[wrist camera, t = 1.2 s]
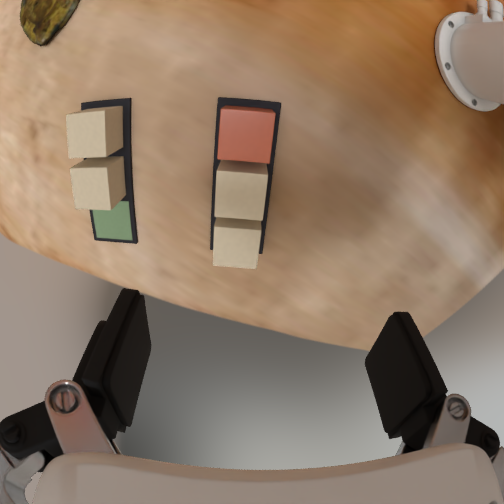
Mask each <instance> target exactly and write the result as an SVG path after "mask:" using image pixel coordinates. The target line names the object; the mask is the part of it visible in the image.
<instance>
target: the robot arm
mask: <svg viewBox="0 0 504 504" xmlns="http://www.w3.org/2000/svg"><path fill="white" fill-rule="evenodd" d="M477 8H478V13H476V14H475V15H474V14H472V13H468V12H456V13H451V14H449V15H447V16H446V17H445V18H444V19H443V20H442V21H441V22H440V24H439V26H438V28H437V32H436V35H435V54H436V59H437V63H438V66H439V69H440V72H441V75H442V77H443V79H444V81H445V83H446V85H447V86H448V88H449V89H450V91H451V92H452V93H453V94H454V96H455V97H456V98H457V99H458V100H459V101H461V102H462V103H463V104H464V105H466V106H468V107H470V108H472V109H475V110H478V111H484V112H485V111H491V110H494V109H496V108H497V107H498V106H500V105H501V104H503V105H504V21H503V17H504V14H503V5H502V4H501V3H500V2H498V1H496V0H489V13H490V18H489V17H488V16H487V11H488V8H487V1H486V0H477ZM150 351H151V340H150V334H149V328H148V321H147V314H146V307H145V300H144V295H140V293H139V291H138V290H133V289H126V288H123V289H122V291H121V293H120V295H119V297H118V299H117V301H116V303H115V305H114V307H113V309H112V311H111V313H110V315H109V317H108V319H107V321H100V322H99V323H98V325H97V327H96V329H95V331H94V333H93V335H92V337H91V339H90V341H89V343H88V346H87V348H86V350H85V352H84V354H83V357H82V359H81V361H80V363H79V366H78V368H77V370H76V373H75V375H74V377H73V380H72V381H71V380H60V381H57V382H55V383H53V384H52V385H51V386H50V387H49V388H48V390H47V392H46V394H45V401H43V402H41V403H38V404H36V405H34V406H32V407H29V408H27V409H25V410H22V411H20V412H18V413H15V414H13V415H10V416H8V417H6V418H5V419H3V420H2V421H1V422H0V504H28V502H27V500H26V498H25V494H24V493H25V488H26V486H27V484H28V483H29V482H30V481H31V480H32V479H31V477H32V476H33V475H34V474H35V473H36V472H43V473H42V475H41V477H40V480H39V482H38V485H37V488H36V492H35V494H34V498H33V502H32V504H504V448H503V447H502V446H501V447H500V448H499V446H500V441H499V437H498V435H497V433H496V432H495V431H494V430H492V429H491V428H489V427H488V426H486V425H485V424H483V423H481V422H480V421H478V420H476V419H475V418H473V417H471V408H470V405H469V403H468V401H467V400H466V399H465V398H464V397H463V396H461V395H459V394H450V395H449V396H446V393H447V391H448V390H447V388H446V386H445V383H444V381H443V379H442V377H441V375H440V373H439V371H438V368H437V366H436V364H435V362H434V360H433V358H432V356H431V354H430V352H429V350H428V348H427V346H426V344H425V342H424V340H423V338H422V336H421V334H420V332H419V330H418V328H417V326H416V324H415V323H414V321H413V319H412V317H411V315H410V314H409V313H408V312H394V313H393V315H391V316H390V317H389V318H388V320H387V322H386V324H385V326H384V327H383V329H382V331H381V333H380V335H379V336H378V338H377V340H376V342H375V343H374V345H373V347H372V348H371V350H370V352H369V354H368V355H367V357H366V359H365V367H366V370H367V373H368V376H369V379H370V383H371V386H372V389H373V392H374V396H375V399H376V402H377V406H378V410H379V413H380V417H381V420H382V424H383V428H384V430H385V432H386V433H388V436H389V439H392V438H397V437H400V436H402V440H403V441H402V443H401V445H400V447H399V449H398V451H397V453H396V455H395V456H392V457H387V458H383V459H378V460H372V461H367V462H360V463H354V464H347V465H339V466H331V467H322V468H308V469H293V470H236V469H220V468H208V467H198V466H190V465H181V464H174V463H167V462H160V461H154V460H149V459H144V458H137V457H131V456H125V455H122V454H121V452H120V450H119V448H118V447H117V445H116V443H115V442H114V440H113V439H114V438H116V434H117V431H120V432H124V433H125V430H126V426H128V427H130V426H131V424H132V420H133V416H134V412H135V408H136V404H137V400H138V396H139V392H140V388H141V384H142V381H143V377H144V374H145V370H146V366H147V362H148V359H149V356H150Z"/></svg>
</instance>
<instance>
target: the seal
mask: <svg viewBox="0 0 504 504" xmlns="http://www.w3.org/2000/svg"><path fill="white" fill-rule="evenodd" d="M78 2H79V0H22V3H21V12H20V21H21V26H22V27H23V31H24V32H25V34H26V35H27V37H28V38H29V39H30V41H32V42H33V43H35V44H37V45H40V46H43V45H46V44H47V43H48V41H49V40H50V39H51V37H52V36H53V35H54V34H55V32H56V31H57V30H59V29H61V28H62V27H63V26H64V25H65V23H66V22H67V21H68V19H69V18H70V16H71V15H72V13H73V11H74V10H75V8H76V6H77V4H78Z"/></svg>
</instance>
